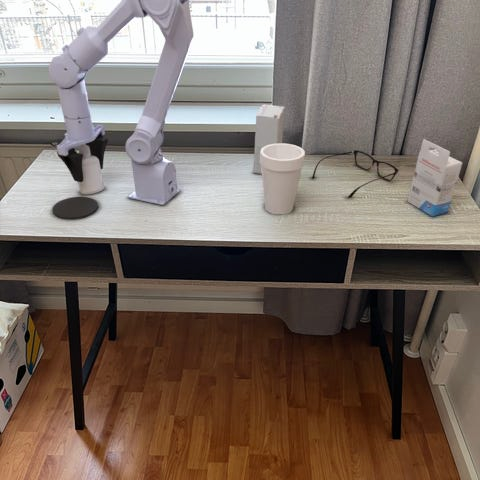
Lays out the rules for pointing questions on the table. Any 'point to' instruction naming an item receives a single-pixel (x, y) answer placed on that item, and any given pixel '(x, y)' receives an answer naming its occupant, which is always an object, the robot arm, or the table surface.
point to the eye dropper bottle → (90, 172)
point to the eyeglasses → (364, 169)
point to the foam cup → (281, 175)
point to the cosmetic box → (267, 130)
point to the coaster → (75, 208)
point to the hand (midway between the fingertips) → (88, 174)
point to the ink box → (434, 179)
